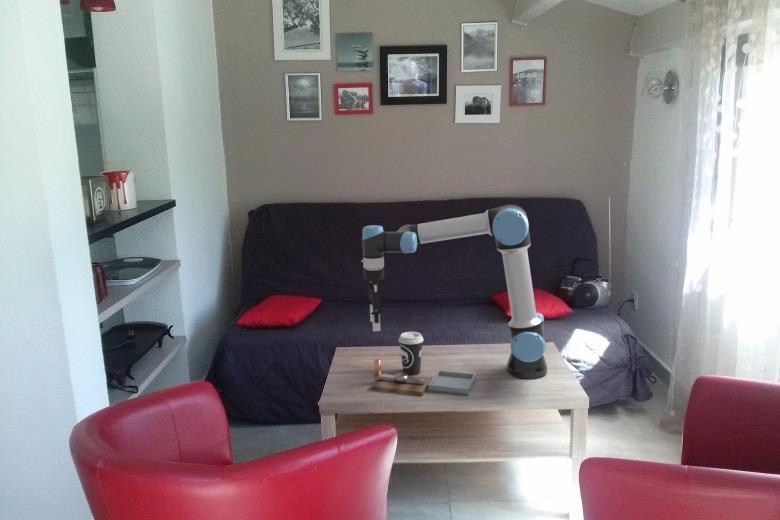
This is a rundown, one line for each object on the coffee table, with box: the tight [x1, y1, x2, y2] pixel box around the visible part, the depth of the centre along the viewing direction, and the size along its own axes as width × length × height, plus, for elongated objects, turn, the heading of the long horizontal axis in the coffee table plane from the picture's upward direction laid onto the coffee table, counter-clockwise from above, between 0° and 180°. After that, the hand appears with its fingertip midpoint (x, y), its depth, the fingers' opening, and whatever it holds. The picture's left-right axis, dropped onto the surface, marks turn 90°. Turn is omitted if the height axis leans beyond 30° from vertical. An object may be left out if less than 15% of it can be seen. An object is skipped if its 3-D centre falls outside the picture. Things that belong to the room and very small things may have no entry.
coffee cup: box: [397, 331, 424, 376], centre depth 241 cm, size 10×10×15 cm
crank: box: [373, 358, 426, 384], centre depth 230 cm, size 19×5×7 cm, turn 71°
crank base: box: [371, 372, 433, 397], centre depth 230 cm, size 19×13×2 cm
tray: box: [427, 369, 477, 397], centre depth 229 cm, size 14×14×2 cm
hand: (375, 326), depth 234 cm, fingers open, 11 cm apart
